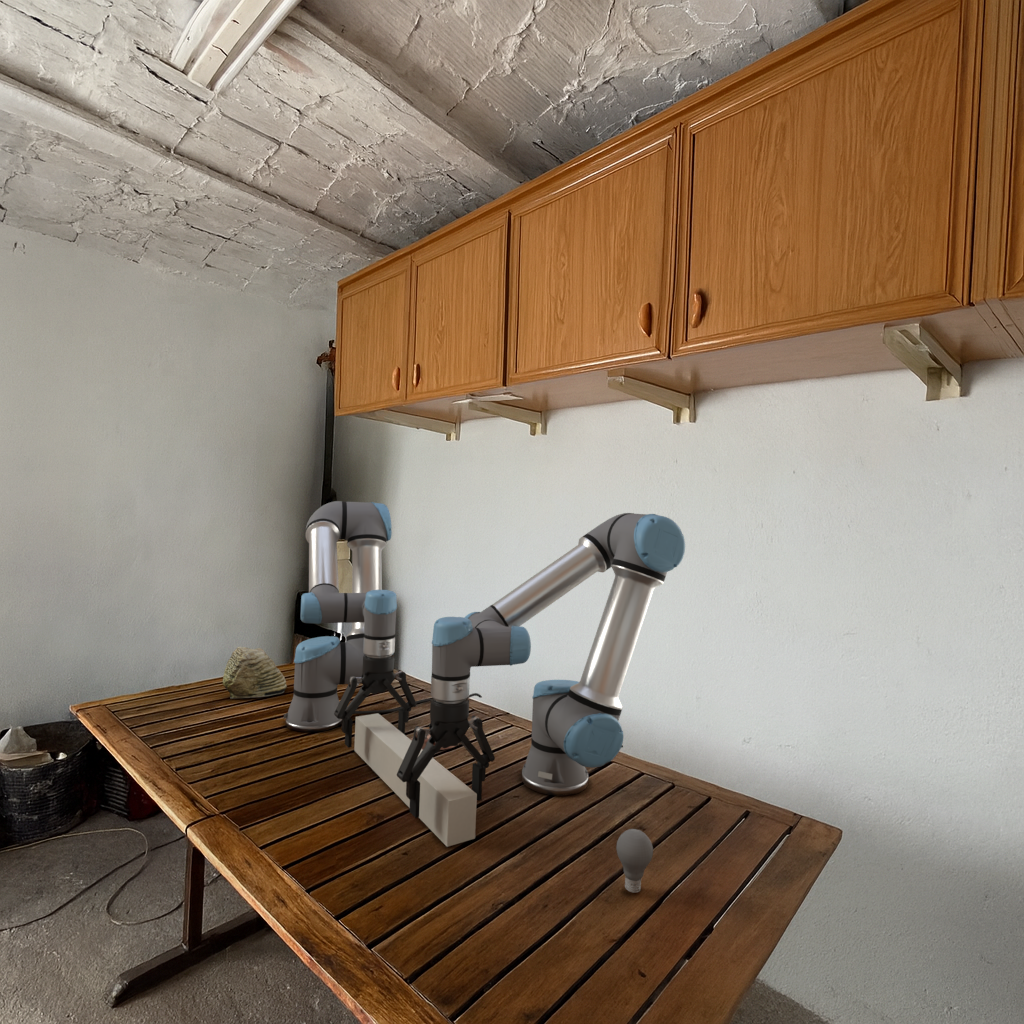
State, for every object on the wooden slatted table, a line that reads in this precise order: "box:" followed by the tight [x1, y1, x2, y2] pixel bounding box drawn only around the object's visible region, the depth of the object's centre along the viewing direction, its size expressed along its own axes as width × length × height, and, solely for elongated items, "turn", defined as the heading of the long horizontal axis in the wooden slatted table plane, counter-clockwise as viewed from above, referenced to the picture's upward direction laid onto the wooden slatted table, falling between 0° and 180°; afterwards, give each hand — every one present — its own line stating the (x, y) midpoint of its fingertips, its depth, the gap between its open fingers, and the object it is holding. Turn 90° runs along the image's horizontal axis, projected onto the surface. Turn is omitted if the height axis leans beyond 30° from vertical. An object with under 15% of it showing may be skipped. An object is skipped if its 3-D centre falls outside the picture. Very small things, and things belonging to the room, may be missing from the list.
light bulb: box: [615, 828, 654, 894], centre depth 106 cm, size 6×6×10 cm
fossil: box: [222, 646, 288, 699], centre depth 198 cm, size 9×18×15 cm, turn 132°
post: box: [353, 713, 478, 848], centre depth 139 cm, size 50×6×9 cm, turn 33°
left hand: (375, 740), depth 155 cm, fingers open, 13 cm apart
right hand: (446, 806), depth 124 cm, fingers open, 13 cm apart
